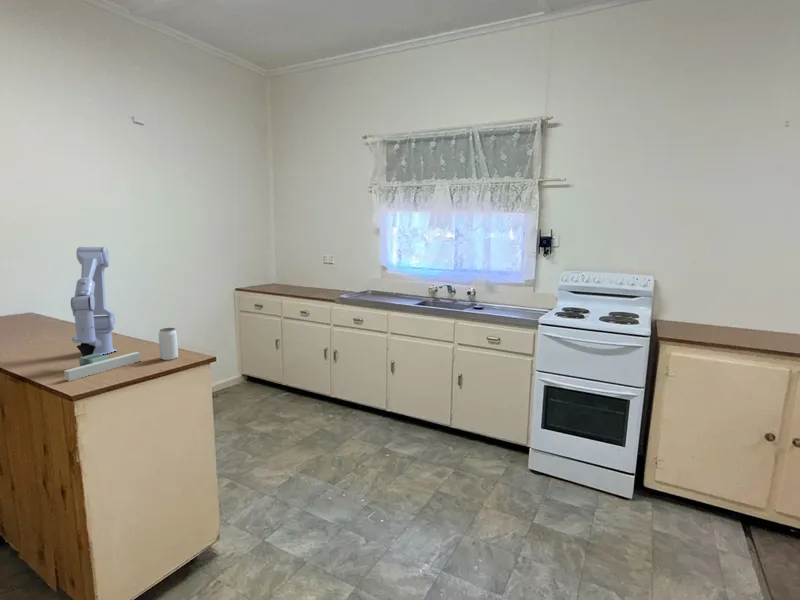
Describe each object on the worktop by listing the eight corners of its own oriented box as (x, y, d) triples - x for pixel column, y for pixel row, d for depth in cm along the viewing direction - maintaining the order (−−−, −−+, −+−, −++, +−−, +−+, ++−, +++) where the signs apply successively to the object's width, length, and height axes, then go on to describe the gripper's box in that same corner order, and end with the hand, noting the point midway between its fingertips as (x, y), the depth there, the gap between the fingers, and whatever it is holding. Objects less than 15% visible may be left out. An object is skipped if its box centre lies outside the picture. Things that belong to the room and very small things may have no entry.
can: (161, 356, 182) (159, 328, 180) (179, 355, 185) (177, 327, 183) (159, 361, 176) (157, 331, 174) (177, 359, 179) (175, 330, 177)
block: (80, 369, 165) (78, 357, 164) (96, 364, 170) (95, 353, 170) (93, 372, 162) (92, 360, 161) (110, 367, 167) (109, 356, 166)
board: (65, 380, 153) (64, 370, 153) (136, 360, 177) (136, 352, 176) (69, 381, 152) (68, 371, 152) (140, 361, 176) (140, 352, 175)
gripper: (61, 327, 165) (65, 362, 168) (85, 331, 159) (89, 368, 162) (81, 323, 172) (85, 357, 174) (105, 327, 166) (109, 363, 168)
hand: (88, 362), depth 168 cm, fingers closed, pressing on block
